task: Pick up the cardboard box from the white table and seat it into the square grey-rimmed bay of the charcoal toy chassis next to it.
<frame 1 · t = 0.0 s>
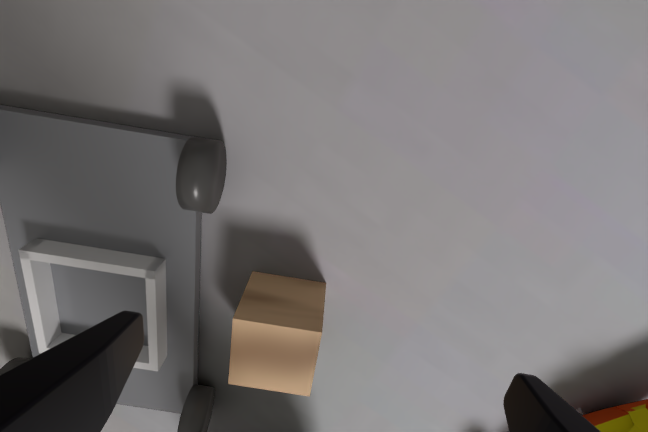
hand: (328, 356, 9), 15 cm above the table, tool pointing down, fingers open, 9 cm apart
cardboard box: (285, 306, 27), on the table
chassis: (113, 280, 26), on the table
toy boat: (570, 431, 31), on the table
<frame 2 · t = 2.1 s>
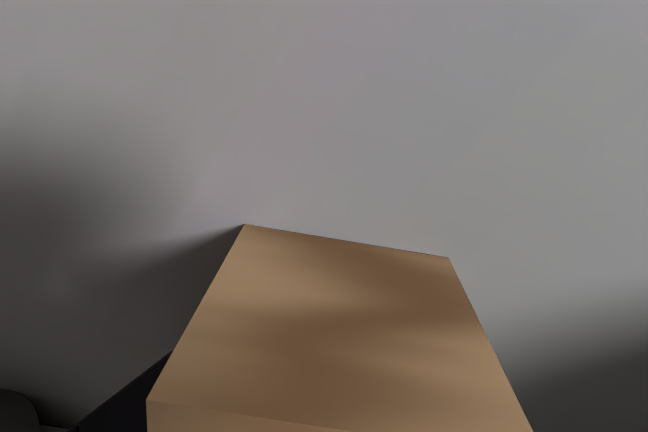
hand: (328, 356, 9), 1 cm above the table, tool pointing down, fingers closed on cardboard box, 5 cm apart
cardboard box: (330, 322, 10), on the table, touching gripper
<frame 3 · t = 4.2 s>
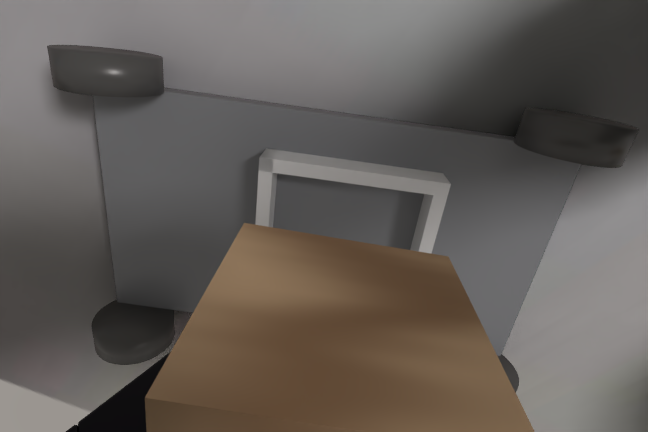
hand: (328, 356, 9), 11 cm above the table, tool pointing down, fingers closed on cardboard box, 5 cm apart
cardboard box: (329, 321, 10), point 10 cm above the table, touching gripper
chassis: (323, 227, 20), on the table
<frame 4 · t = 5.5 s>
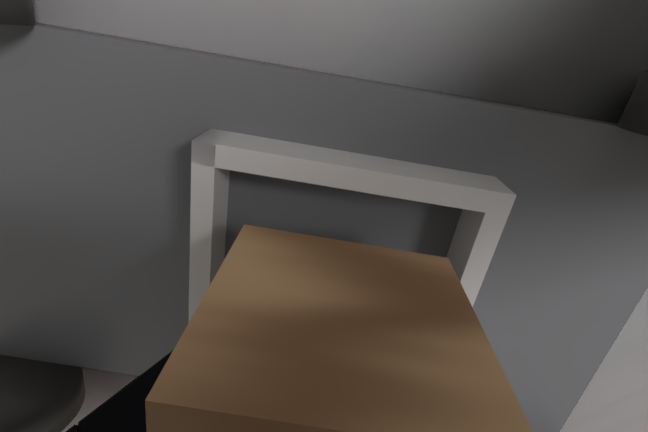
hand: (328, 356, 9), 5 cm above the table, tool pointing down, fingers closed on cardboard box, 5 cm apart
cardboard box: (329, 322, 10), point 3 cm above the table, touching gripper
chassis: (303, 253, 13), on the table
when the fingers open (3 cm above the table, at t = 6.6 s): cardboard box drops 1 cm, resting on chassis.
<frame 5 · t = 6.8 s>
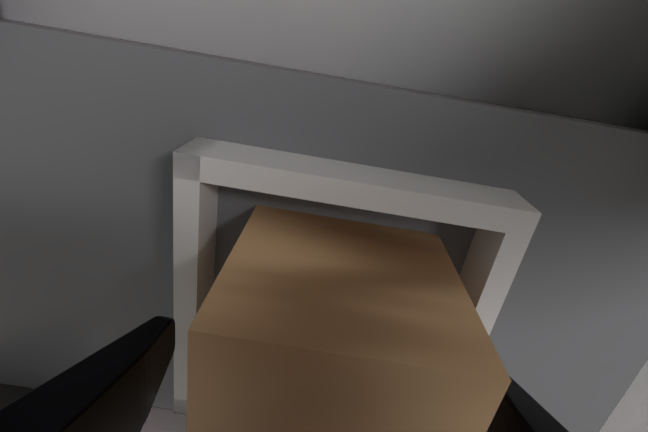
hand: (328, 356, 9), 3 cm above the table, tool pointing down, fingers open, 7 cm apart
cardboard box: (332, 294, 11), point 1 cm above the table, touching chassis
chassis: (300, 271, 12), on the table
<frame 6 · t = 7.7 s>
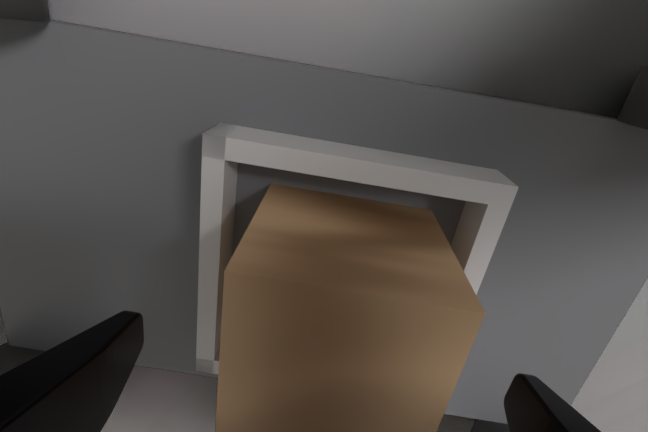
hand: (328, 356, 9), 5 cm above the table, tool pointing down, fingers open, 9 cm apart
cardboard box: (337, 265, 13), point 1 cm above the table, touching chassis
chassis: (308, 246, 14), on the table
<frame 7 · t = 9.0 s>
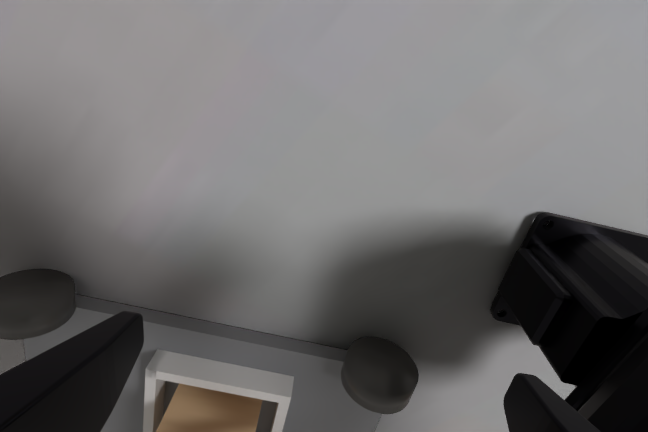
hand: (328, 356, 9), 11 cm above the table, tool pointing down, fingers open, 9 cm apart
cardboard box: (220, 409, 24), point 1 cm above the table, touching chassis
chassis: (208, 393, 25), on the table
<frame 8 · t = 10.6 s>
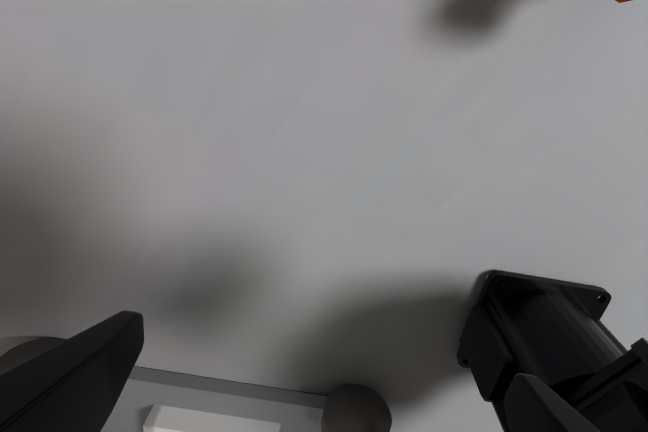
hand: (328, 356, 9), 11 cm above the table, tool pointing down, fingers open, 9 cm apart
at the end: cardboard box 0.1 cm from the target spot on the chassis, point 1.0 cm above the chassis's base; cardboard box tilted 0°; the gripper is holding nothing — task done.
